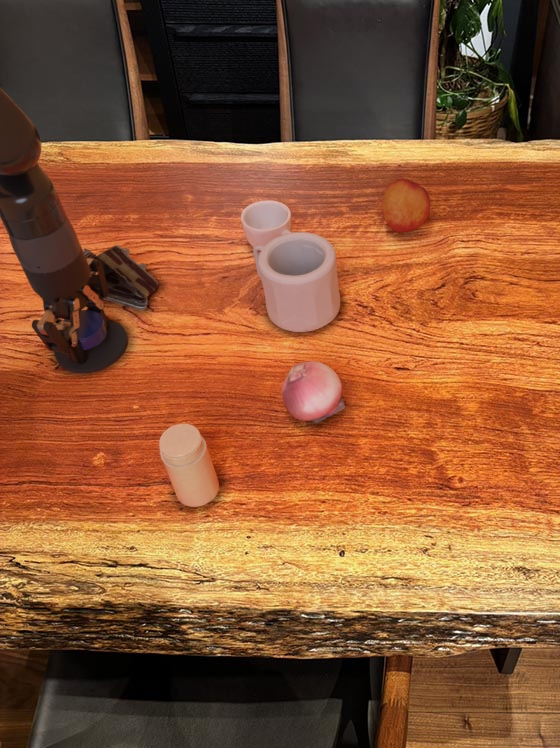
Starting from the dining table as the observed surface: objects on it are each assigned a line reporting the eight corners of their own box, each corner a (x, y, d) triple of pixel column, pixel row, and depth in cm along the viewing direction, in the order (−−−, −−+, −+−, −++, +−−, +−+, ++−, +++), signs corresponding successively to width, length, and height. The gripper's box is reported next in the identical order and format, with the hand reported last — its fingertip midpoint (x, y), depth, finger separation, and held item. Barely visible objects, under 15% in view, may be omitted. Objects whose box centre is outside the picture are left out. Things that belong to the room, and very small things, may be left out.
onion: (301, 379, 108) (295, 342, 102) (355, 393, 106) (351, 356, 100) (275, 423, 103) (267, 386, 97) (330, 439, 101) (326, 403, 95)
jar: (175, 510, 95) (155, 461, 87) (176, 474, 98) (156, 424, 91) (219, 503, 95) (203, 454, 88) (218, 467, 99) (202, 418, 91)
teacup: (235, 245, 127) (229, 217, 123) (270, 221, 131) (265, 193, 127) (280, 271, 122) (275, 243, 118) (315, 245, 126) (311, 217, 122)
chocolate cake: (179, 285, 122) (128, 219, 119) (151, 304, 116) (97, 235, 114) (144, 312, 127) (95, 250, 125) (116, 331, 122) (64, 266, 119)
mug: (355, 299, 118) (351, 246, 110) (311, 344, 112) (303, 291, 104) (283, 267, 123) (274, 214, 115) (237, 309, 117) (225, 256, 110)
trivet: (50, 377, 110) (48, 373, 109) (62, 325, 116) (60, 321, 116) (123, 370, 110) (122, 366, 109) (131, 319, 117) (130, 315, 116)
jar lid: (112, 319, 113) (108, 309, 111) (101, 350, 109) (97, 339, 107) (71, 320, 113) (66, 309, 111) (59, 350, 109) (54, 340, 108)
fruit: (441, 224, 129) (442, 182, 123) (407, 248, 125) (407, 206, 119) (404, 204, 132) (404, 162, 126) (371, 227, 129) (368, 186, 123)
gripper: (45, 293, 95) (89, 387, 107) (103, 220, 104) (138, 314, 116) (-10, 284, 96) (40, 377, 109) (52, 212, 105) (91, 306, 118)
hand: (90, 344), depth 112 cm, fingers closed on jar lid, 6 cm apart
